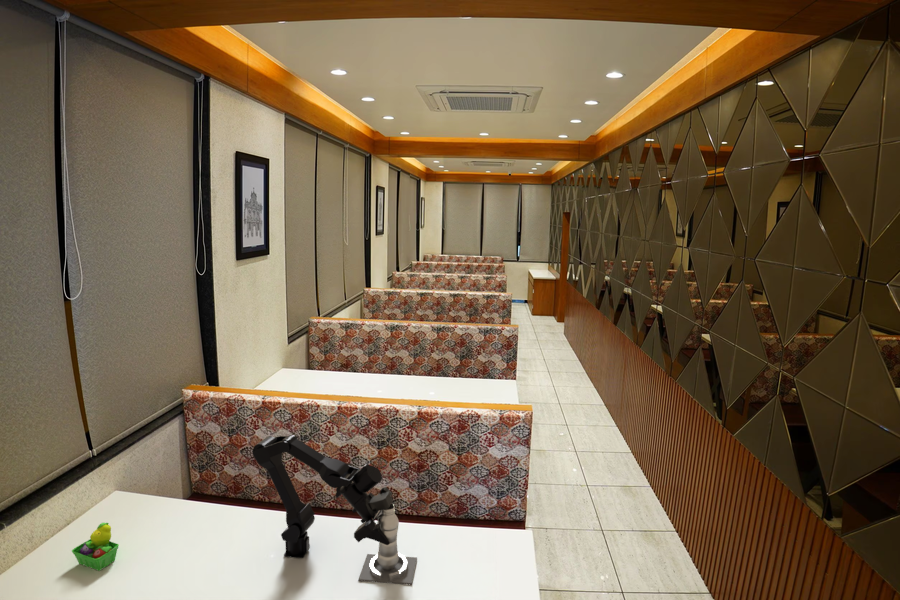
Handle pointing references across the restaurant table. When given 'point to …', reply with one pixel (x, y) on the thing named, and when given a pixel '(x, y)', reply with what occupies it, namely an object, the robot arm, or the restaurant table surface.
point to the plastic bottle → (390, 528)
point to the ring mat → (388, 571)
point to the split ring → (392, 575)
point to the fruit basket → (97, 549)
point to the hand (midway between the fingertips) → (392, 538)
